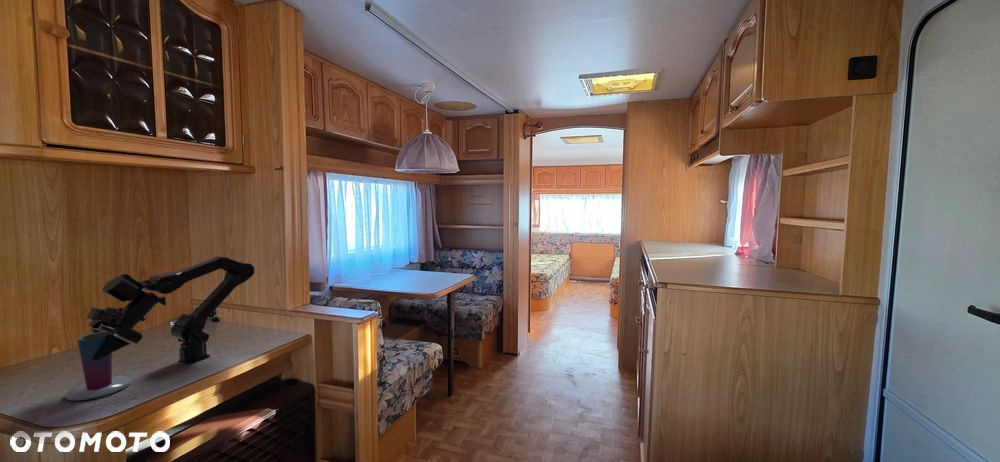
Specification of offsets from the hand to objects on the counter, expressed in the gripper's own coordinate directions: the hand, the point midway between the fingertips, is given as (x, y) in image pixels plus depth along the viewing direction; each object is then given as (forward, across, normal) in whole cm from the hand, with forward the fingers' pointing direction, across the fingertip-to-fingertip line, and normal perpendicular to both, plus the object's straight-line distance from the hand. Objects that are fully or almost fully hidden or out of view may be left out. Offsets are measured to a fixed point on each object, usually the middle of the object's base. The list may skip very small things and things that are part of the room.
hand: (88, 357), depth 109 cm
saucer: (+6, 0, +9) cm, 10 cm away
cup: (+5, 0, +8) cm, 9 cm away
